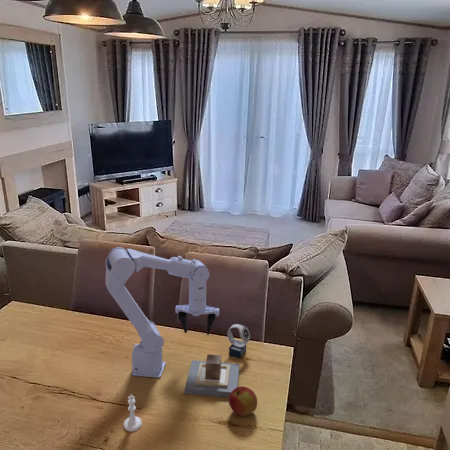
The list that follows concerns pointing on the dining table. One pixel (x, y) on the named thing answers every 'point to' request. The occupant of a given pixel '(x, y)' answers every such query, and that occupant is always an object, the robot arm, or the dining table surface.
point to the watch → (237, 346)
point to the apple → (243, 401)
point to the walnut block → (213, 367)
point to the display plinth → (212, 387)
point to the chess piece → (132, 416)
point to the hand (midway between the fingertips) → (197, 332)
